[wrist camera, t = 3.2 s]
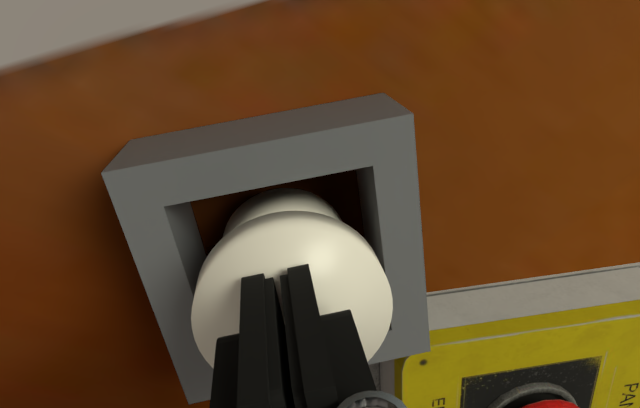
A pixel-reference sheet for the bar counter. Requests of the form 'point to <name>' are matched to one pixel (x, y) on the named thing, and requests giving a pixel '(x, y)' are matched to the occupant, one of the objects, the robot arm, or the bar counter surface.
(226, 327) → the plunger
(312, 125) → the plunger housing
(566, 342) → the emergency button
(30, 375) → the bar counter surface
